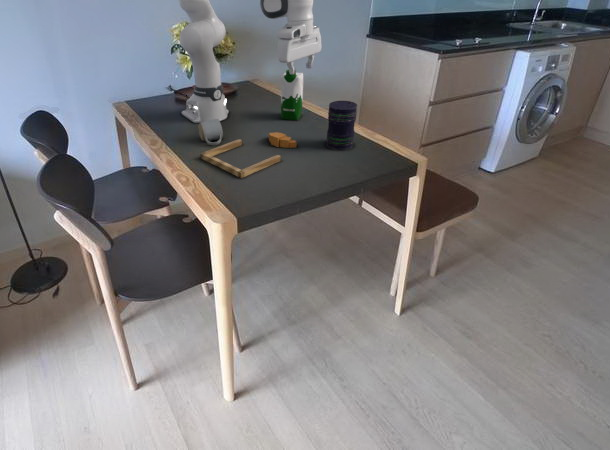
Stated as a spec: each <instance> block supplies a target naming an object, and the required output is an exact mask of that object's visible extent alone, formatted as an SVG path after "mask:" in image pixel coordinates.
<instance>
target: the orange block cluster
mask: <svg viewBox="0 0 610 450" xmlns="http://www.w3.org/2000/svg"><path fill="white" fill-rule="evenodd" d="M268 142H269V143H270V145H271V146H274V147H276V148H279V147H280V148H284V149H285V148H286V149H293V148H297V140H296V139H293V140H292V137H291V136H287V134H285V133H283V132H278V131H276V132H269V133H268Z"/></svg>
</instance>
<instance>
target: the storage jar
mask: <svg viewBox="0 0 610 450" xmlns="http://www.w3.org/2000/svg"><path fill="white" fill-rule="evenodd" d="M357 110H358V104H357V103H356V102H354V101H351V100H335V101H331V102H330V103H329V104H328V113H327V115H328V117H327V120H328V126H327V130H326V147H327V148H329V149H332V150H335V151H346V150H351V149H352V148H353V147H354V140H355V124H356V123H355V122H356V120H357V114H358V113H357Z"/></svg>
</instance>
